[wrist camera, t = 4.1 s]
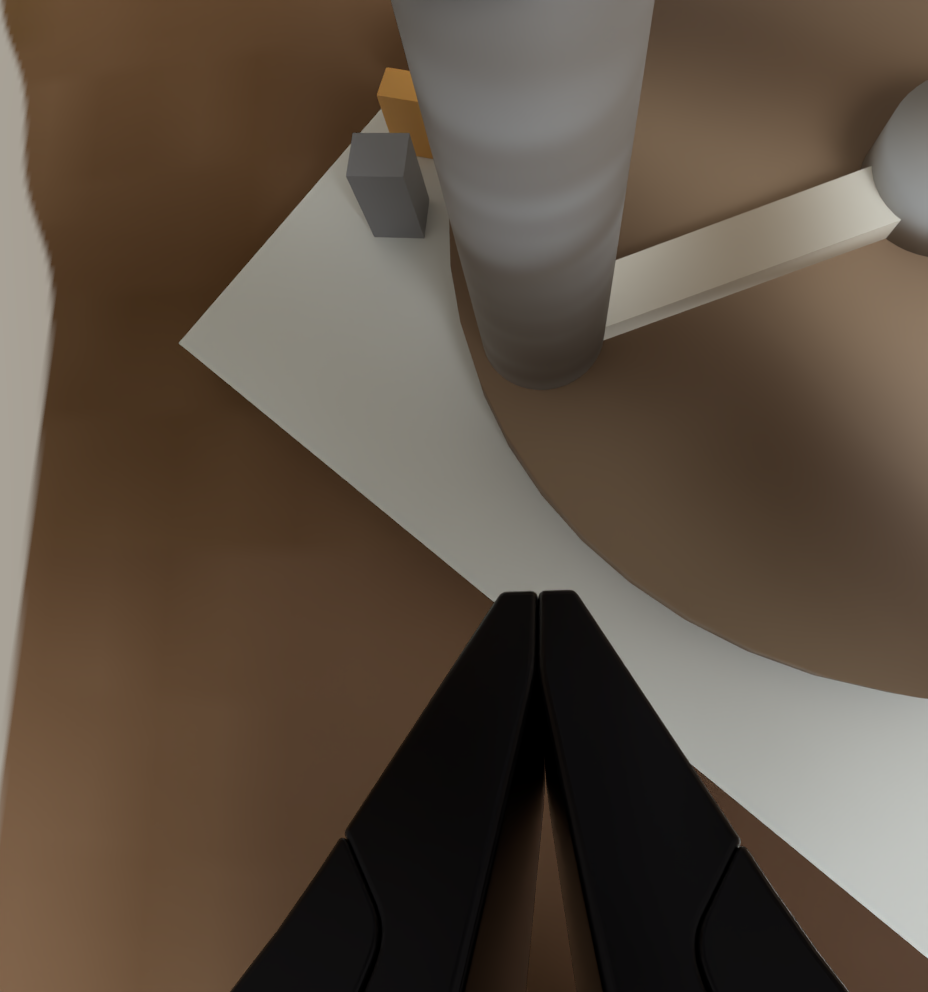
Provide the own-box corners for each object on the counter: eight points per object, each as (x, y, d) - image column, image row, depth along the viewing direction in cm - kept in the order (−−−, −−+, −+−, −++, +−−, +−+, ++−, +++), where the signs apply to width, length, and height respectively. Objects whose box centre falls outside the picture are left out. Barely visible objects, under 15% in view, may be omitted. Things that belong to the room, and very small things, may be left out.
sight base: (1072, 1074, 12) (1281, 1254, 9) (209, 367, 18) (120, 298, 14) (1714, 137, 14) (2114, -34, 10) (746, -259, 19) (789, -463, 16)
